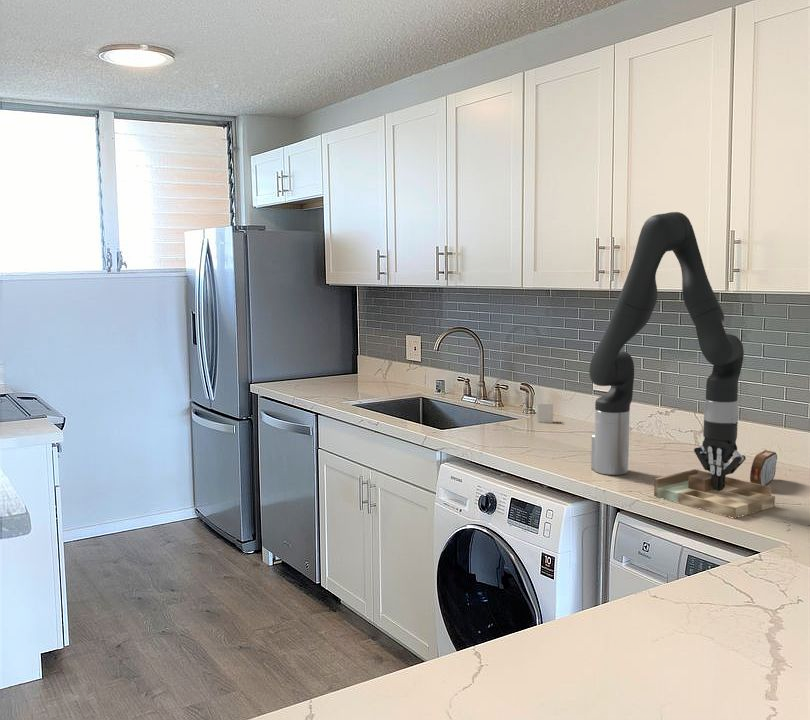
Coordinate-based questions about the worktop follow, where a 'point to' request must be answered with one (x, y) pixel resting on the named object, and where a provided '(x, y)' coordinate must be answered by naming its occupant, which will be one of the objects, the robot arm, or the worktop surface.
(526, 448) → the worktop surface
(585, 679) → the worktop surface
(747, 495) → the tray
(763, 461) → the tin
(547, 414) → the grey square slab
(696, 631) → the worktop surface
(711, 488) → the block
